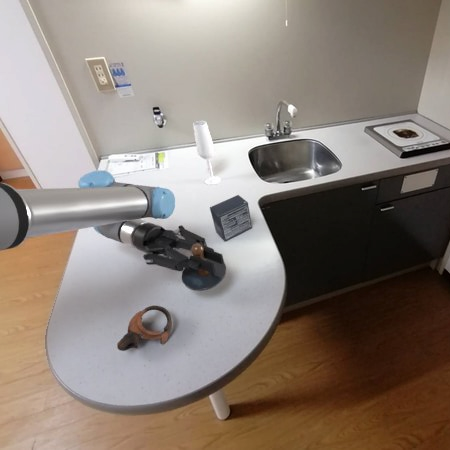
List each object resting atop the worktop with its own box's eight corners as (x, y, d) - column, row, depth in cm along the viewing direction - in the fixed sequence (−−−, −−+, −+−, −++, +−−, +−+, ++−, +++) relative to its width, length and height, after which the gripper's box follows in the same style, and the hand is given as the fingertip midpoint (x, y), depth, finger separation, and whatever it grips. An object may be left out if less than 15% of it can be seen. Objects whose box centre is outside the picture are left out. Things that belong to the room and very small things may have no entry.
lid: (192, 298, 72) (181, 270, 65) (175, 270, 78) (164, 242, 72) (234, 276, 77) (227, 247, 70) (214, 251, 84) (207, 224, 77)
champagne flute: (224, 180, 125) (213, 122, 109) (210, 186, 121) (196, 128, 106) (215, 174, 128) (202, 117, 113) (201, 180, 125) (186, 123, 109)
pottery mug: (147, 312, 77) (154, 294, 73) (174, 337, 77) (184, 320, 72) (103, 346, 67) (109, 328, 63) (134, 375, 67) (142, 358, 62)
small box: (242, 218, 105) (238, 193, 99) (253, 228, 102) (249, 202, 95) (215, 232, 100) (208, 206, 93) (225, 242, 96) (219, 216, 90)
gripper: (170, 229, 88) (238, 253, 80) (125, 266, 77) (199, 298, 69) (162, 208, 83) (234, 232, 75) (113, 244, 72) (191, 276, 64)
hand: (217, 263), depth 72 cm, fingers closed on lid, 3 cm apart
